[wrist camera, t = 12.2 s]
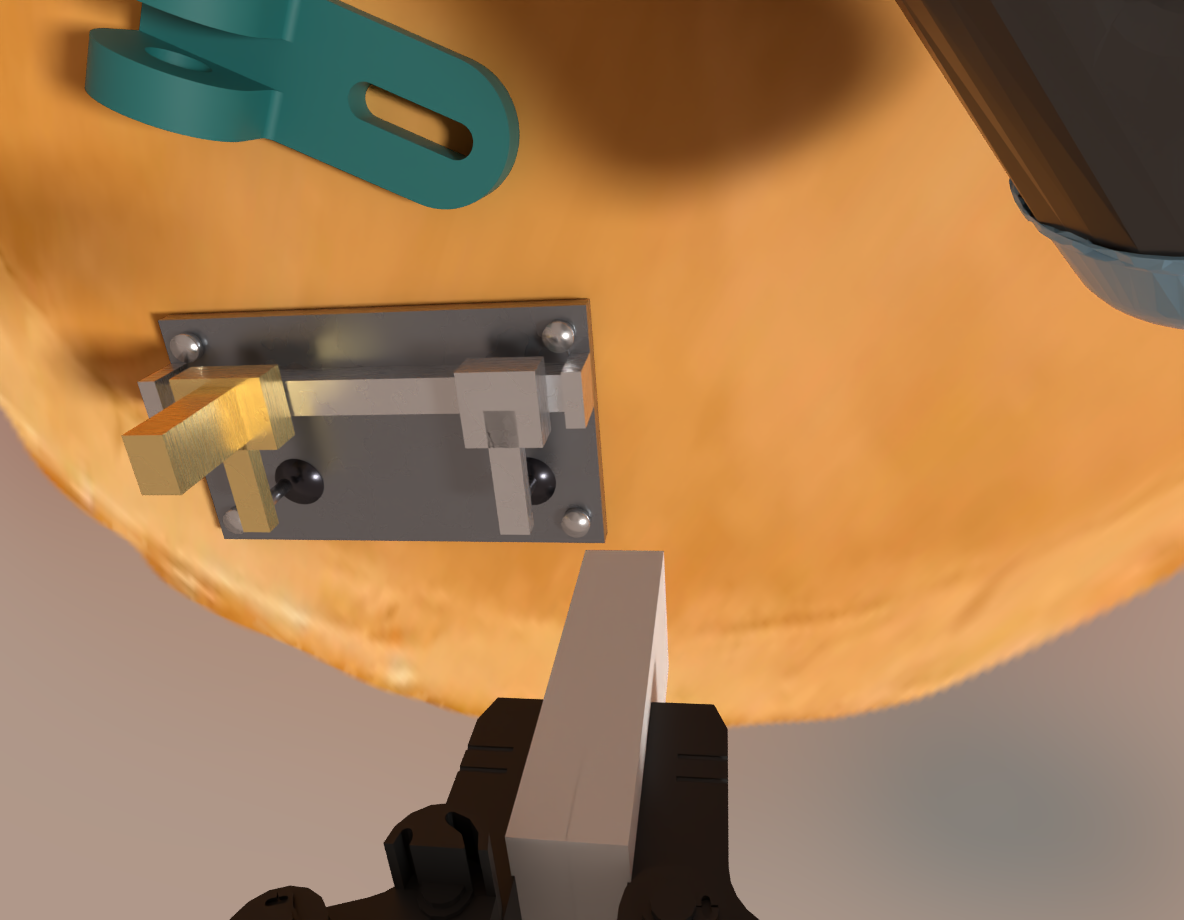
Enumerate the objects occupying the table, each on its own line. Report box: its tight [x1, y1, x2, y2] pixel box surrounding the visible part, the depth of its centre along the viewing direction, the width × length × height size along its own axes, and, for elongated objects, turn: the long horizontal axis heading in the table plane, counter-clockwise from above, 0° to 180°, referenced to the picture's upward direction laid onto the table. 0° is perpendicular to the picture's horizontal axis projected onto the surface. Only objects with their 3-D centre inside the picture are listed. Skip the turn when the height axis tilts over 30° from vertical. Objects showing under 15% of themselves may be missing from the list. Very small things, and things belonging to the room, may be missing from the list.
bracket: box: [85, 0, 519, 209], centre depth 36 cm, size 18×7×8 cm, turn 68°
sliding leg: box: [122, 365, 295, 532], centre depth 43 cm, size 9×5×10 cm, turn 4°
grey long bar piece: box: [137, 352, 594, 535], centre depth 44 cm, size 9×24×4 cm, turn 94°
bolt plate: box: [158, 299, 607, 543], centre depth 47 cm, size 14×24×2 cm, turn 94°
